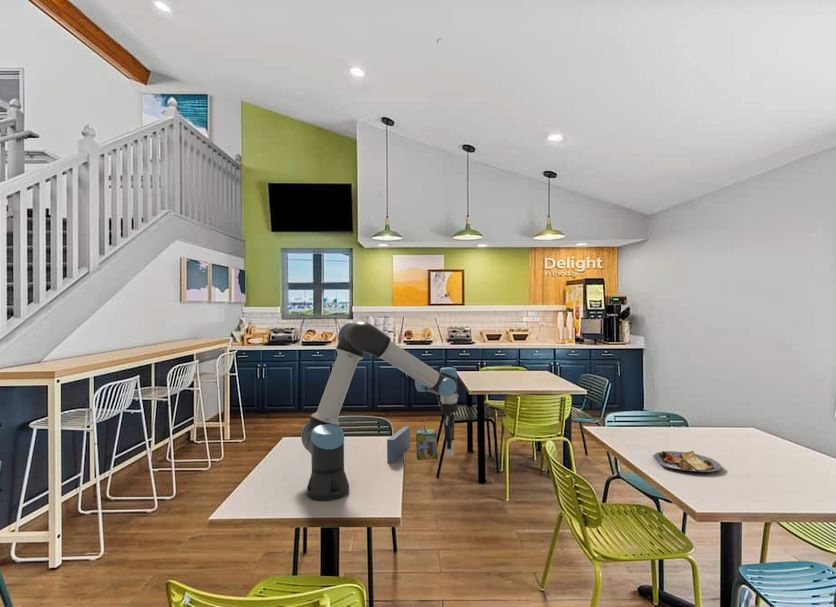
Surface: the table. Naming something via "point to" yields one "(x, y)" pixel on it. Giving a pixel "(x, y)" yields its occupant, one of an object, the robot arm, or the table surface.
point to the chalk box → (426, 444)
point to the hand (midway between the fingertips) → (449, 455)
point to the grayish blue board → (398, 444)
